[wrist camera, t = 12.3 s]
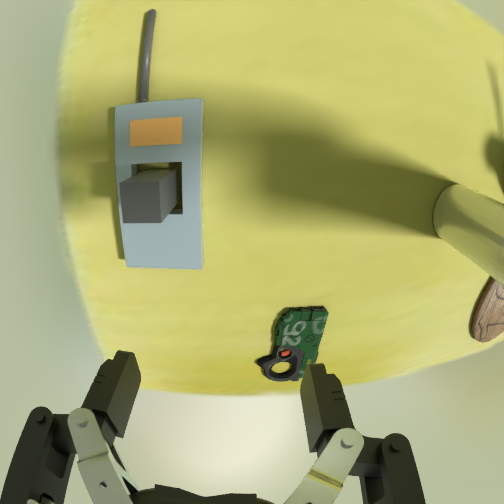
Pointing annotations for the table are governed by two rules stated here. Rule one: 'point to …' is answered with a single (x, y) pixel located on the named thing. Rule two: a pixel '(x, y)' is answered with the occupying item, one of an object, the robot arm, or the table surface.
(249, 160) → the table surface
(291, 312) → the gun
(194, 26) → the table surface
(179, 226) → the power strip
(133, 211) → the block
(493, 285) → the trivet
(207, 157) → the table surface
